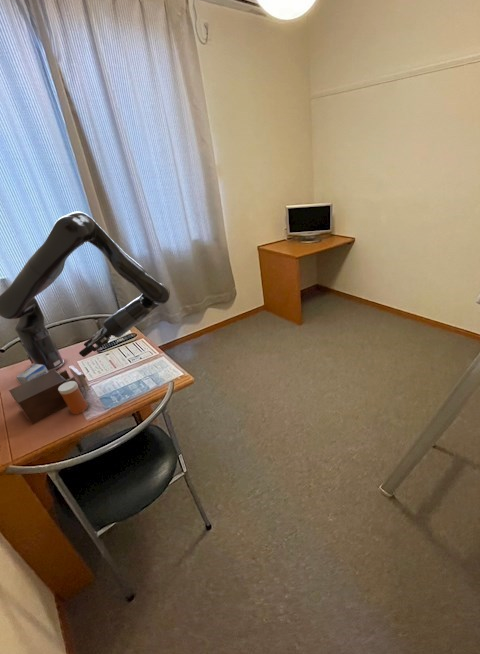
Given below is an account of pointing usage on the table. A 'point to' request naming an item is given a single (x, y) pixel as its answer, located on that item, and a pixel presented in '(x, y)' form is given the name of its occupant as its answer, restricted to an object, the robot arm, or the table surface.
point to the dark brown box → (40, 396)
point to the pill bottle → (73, 397)
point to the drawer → (75, 378)
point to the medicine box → (32, 373)
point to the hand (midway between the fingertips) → (83, 350)
